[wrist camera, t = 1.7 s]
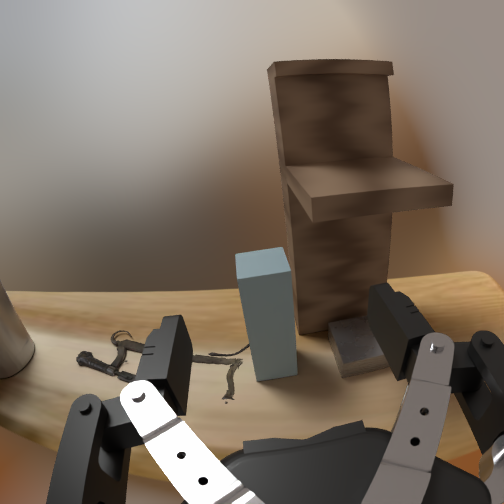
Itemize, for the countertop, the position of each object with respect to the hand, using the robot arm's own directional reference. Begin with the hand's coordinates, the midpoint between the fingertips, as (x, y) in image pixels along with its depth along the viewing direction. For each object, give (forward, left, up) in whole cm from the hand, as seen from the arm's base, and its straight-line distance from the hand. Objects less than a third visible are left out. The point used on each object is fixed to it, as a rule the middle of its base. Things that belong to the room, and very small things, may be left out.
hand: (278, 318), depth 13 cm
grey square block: (+9, +11, -16) cm, 21 cm away
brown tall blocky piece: (+8, +13, -16) cm, 22 cm away
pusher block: (0, +12, -16) cm, 19 cm away
